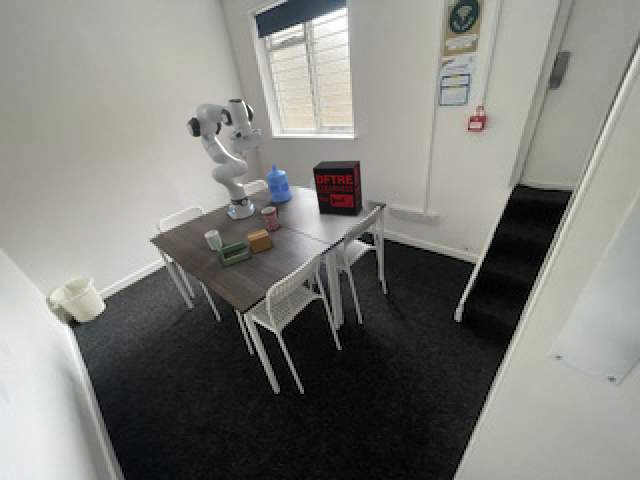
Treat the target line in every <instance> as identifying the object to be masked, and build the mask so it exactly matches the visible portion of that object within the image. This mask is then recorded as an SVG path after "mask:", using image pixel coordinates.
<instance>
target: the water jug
mask: <svg viewBox="0 0 640 480" xmlns="http://www.w3.org/2000/svg"><path fill="white" fill-rule="evenodd" d="M271 167H272V171H270V172H269V173H268V174H266V177H265V178H266V181H267V185H268V189H269V193H270V196H271V201H272V202H273V203H279V204H280V203H285V202H287V201H289V200H290V199H291V198H292V194H291V189H290V185H289V180H288V176H287V172H286V171H284V170H280V169H278V168H277V164H271Z"/></svg>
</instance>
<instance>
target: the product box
mask: <svg viewBox="0 0 640 480" xmlns="http://www.w3.org/2000/svg"><path fill="white" fill-rule="evenodd" d="M312 173H313V174H312V175H313V179H314V186H315V193H316V199H317V205H318V211H319V214H320V215H334V216H346V217H358V215H359V214H360V212H361V210H362V208H363V194H362V193H363V191H362V176H361V175H362V174H361V160H331V161H330V160H327V161H326V160H324V161H323V160H322V161H320V162H319V163H317V164H316V165H315V166H314V167H312Z"/></svg>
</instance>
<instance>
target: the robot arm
mask: <svg viewBox="0 0 640 480" xmlns="http://www.w3.org/2000/svg"><path fill="white" fill-rule="evenodd" d="M195 113H196V117H194V116H192V117H191V119H190V120H188V121H187V124H186V127H187V130H188V133H189V134H190V135H191V136H192V137H194V138H200V142H201V145H202V146H203V148H204V150H205V152H206V153H207V154H208V156H209V158H210V159H211V160H212V162H213V163H215V164H219V165H218V166H216V167H214V168H213V169H212V170H211V178H212V179H213V181H214V182H216V183H218V184H220V185H222V186H224V187H225V188H226V190H227V192H228V194H229V197H230V198H229V199H230V205H229V206H228V212H227V215H228V216H229V217H230V218H231V219H232V220H238V219H239V220H241V219H245V218H249V217H251V216H252V215H253V214H254V213H255V210H256V209H255V207H254V204H253V203H252V202H251V200H250V199H249V197H248V194H247V193H246V189H245V187H244V185H243V184H242V183H240V182H237V181H235V179H237V178H239V177H241V176H243V175H245V174H247V173H248V170H249V168H248V167H249V166H248V164H247V162H246V161H244V160H247V157H246V156H247V155H244V152H245V151H249V150H251V149H254V148H255V155H256V156H258V155H260V149H261V147H260V146H263V145H264V143H265V141H264V138H263V135H262V132H261V130H260V129H259V128H254V129H253V128H252V125H251V123H252V121H253V118H254V110H253V109H252V107H251V106H250V105H249V104H247V103H245V102H244V101H243V99H241V98H231V99H229V100H228V101H227V105H220V104H215V103H202V104H200V105H198V106H197V107H196V110H195ZM222 124H224V125H225V126H227V127H234V130H233V131H231V132H230V133H229V134H228V135H227V136H228V139H229V147H230V150H231V152H232V153H233V154H238V155H239V156H240V157H241V159H239V158H237V157H234V156H233V155H231V154H230V153H229V152H228V151H227V150H226V148H224V146H223V145H222V143H221V142H220V141H219V140H218V138H217V136H218V135H219V134H220V132H221V130H222V127H223V126H222Z"/></svg>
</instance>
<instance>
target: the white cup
mask: <svg viewBox="0 0 640 480" xmlns="http://www.w3.org/2000/svg"><path fill="white" fill-rule="evenodd" d="M204 238H205V240H206V242H207V243H208V245H209V247H210V249H211V250H212V251H217V245H216V240H217V239H218V241H219V244H220V246H221V248H223V243H222V239H221V235H220V234H219V231H218V230H217V229H213V230H209V231H207V232H206V233H204Z"/></svg>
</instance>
